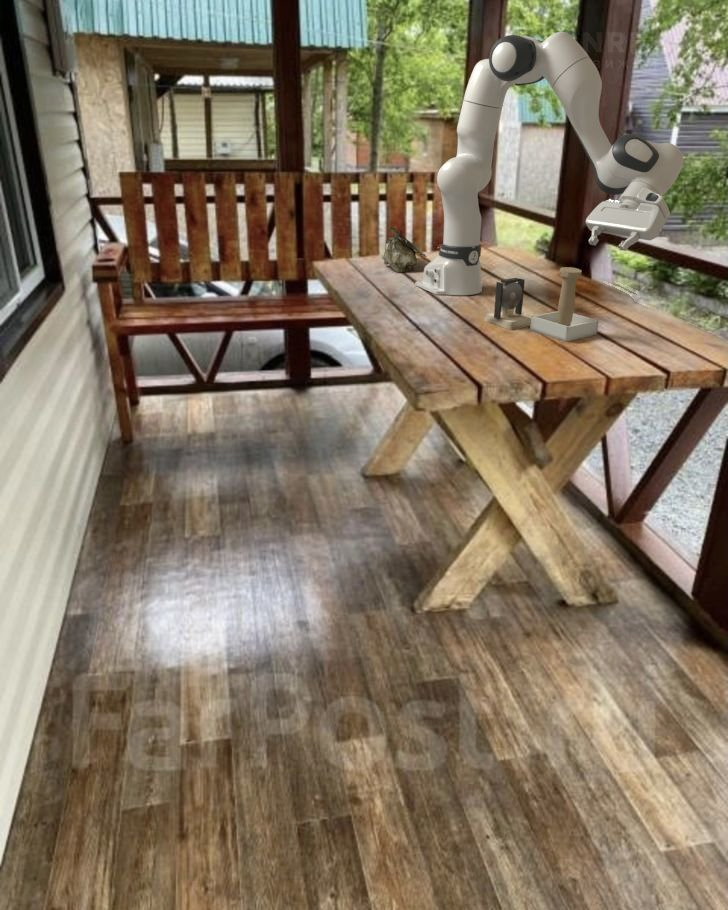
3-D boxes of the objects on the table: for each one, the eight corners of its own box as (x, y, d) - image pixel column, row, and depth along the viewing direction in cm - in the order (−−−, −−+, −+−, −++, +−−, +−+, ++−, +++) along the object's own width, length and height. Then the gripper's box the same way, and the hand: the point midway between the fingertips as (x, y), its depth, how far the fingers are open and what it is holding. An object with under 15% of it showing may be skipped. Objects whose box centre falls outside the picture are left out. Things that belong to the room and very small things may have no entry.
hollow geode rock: (396, 271, 278) (368, 241, 274) (421, 247, 275) (393, 217, 271) (401, 285, 253) (370, 253, 248) (428, 259, 249) (398, 226, 245)
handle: (558, 333, 184) (566, 272, 178) (549, 326, 190) (556, 267, 184) (577, 332, 185) (585, 272, 178) (567, 325, 191) (575, 267, 184)
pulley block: (482, 321, 196) (485, 277, 191) (505, 317, 200) (508, 274, 196) (509, 330, 189) (513, 285, 184) (531, 325, 193) (536, 281, 188)
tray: (529, 330, 189) (531, 316, 187) (560, 323, 195) (561, 310, 193) (566, 341, 180) (567, 327, 178) (596, 334, 185) (598, 320, 184)
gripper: (600, 190, 191) (569, 232, 190) (668, 197, 176) (635, 243, 175) (609, 207, 195) (579, 248, 194) (676, 215, 180) (644, 260, 179)
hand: (606, 246), depth 185 cm, fingers open, 8 cm apart
